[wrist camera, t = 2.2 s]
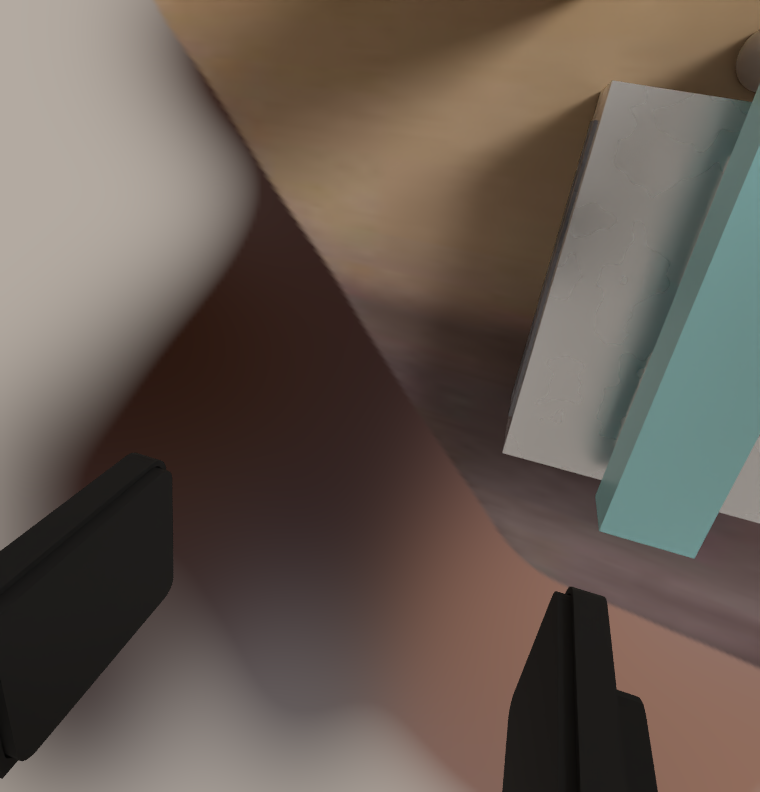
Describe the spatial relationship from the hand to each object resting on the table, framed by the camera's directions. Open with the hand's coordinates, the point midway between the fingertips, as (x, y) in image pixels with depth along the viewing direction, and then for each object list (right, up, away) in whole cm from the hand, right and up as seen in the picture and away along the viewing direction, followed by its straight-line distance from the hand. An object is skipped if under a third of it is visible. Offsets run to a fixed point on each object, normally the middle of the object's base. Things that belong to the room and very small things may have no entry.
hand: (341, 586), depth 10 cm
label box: (+15, +8, +18) cm, 25 cm away
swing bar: (+15, +10, +17) cm, 24 cm away
